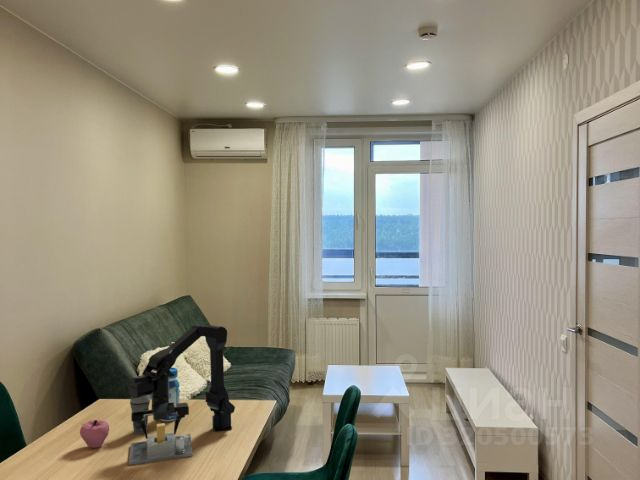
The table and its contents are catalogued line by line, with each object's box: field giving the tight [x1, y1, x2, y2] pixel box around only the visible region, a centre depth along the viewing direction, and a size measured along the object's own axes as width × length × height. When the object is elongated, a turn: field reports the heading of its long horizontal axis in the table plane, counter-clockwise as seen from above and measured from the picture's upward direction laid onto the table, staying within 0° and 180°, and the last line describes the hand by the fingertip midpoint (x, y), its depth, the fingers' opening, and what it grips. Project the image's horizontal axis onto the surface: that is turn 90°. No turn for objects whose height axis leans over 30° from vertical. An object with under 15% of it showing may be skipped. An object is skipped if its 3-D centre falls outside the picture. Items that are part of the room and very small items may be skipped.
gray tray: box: [128, 432, 193, 466], centre depth 172 cm, size 20×16×6 cm
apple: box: [79, 419, 110, 449], centre depth 177 cm, size 10×9×10 cm
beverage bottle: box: [159, 367, 181, 422], centre depth 204 cm, size 8×8×20 cm
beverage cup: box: [129, 395, 151, 435], centre depth 190 cm, size 7×7×20 cm
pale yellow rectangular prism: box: [156, 422, 166, 442], centre depth 172 cm, size 3×3×8 cm
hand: (160, 436), depth 172 cm, fingers open, 9 cm apart
